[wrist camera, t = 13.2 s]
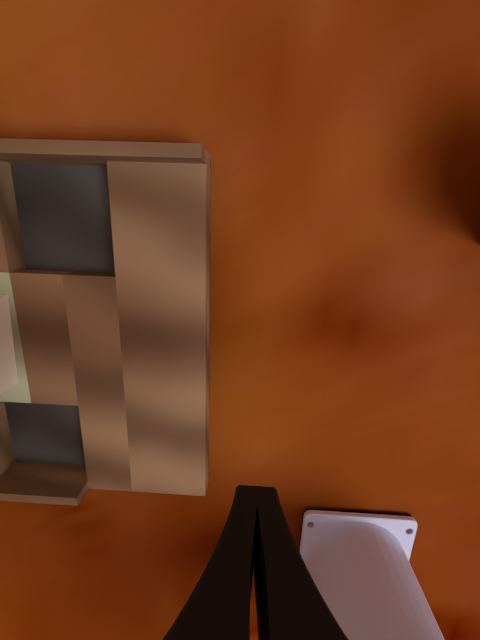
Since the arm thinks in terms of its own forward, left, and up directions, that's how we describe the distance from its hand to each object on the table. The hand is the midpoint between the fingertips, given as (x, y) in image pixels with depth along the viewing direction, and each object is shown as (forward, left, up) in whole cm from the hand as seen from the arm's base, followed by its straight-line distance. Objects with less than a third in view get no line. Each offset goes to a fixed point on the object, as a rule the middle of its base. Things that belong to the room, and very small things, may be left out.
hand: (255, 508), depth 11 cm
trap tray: (+2, +12, -10) cm, 16 cm away
